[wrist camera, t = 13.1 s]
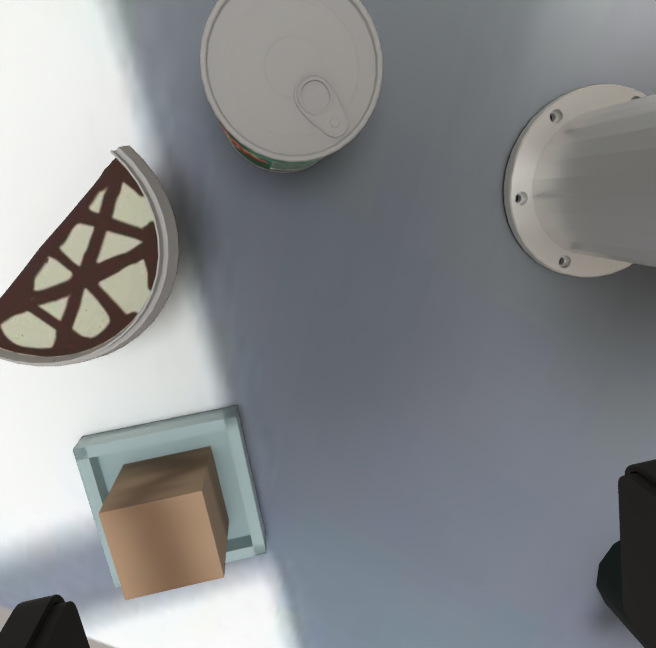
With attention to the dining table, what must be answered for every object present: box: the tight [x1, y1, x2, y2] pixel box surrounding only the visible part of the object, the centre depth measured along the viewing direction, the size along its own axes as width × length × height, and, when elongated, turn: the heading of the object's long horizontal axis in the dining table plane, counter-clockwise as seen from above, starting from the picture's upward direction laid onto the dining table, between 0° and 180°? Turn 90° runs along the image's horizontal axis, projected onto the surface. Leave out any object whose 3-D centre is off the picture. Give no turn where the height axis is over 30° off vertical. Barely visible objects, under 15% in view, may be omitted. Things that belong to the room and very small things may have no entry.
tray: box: [73, 405, 266, 587], centre depth 37 cm, size 11×11×2 cm
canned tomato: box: [200, 0, 383, 173], centre depth 28 cm, size 8×8×11 cm
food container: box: [0, 146, 179, 366], centre depth 30 cm, size 12×6×10 cm, turn 138°
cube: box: [98, 446, 229, 600], centre depth 35 cm, size 6×6×6 cm
